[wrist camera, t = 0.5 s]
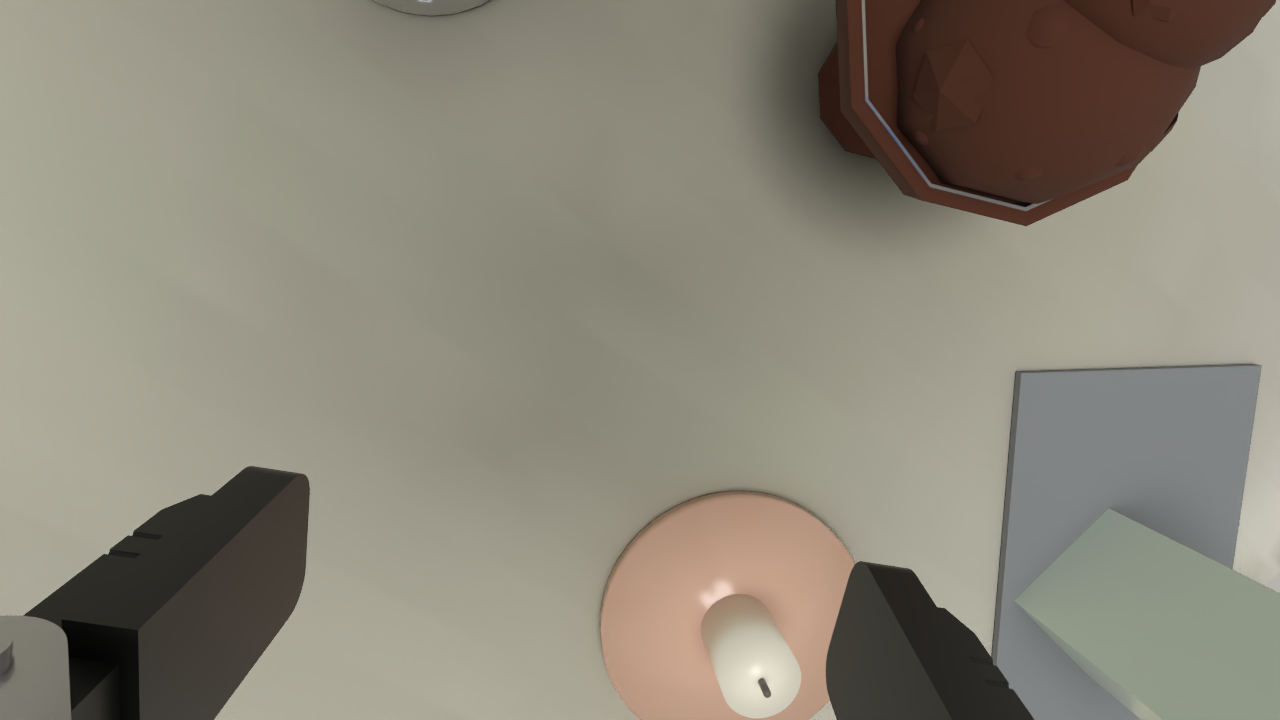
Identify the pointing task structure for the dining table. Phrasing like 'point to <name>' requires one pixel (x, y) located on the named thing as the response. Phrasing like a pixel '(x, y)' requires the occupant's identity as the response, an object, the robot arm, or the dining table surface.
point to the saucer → (701, 575)
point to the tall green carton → (1161, 625)
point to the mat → (1112, 494)
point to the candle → (750, 657)
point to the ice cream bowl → (1018, 92)
